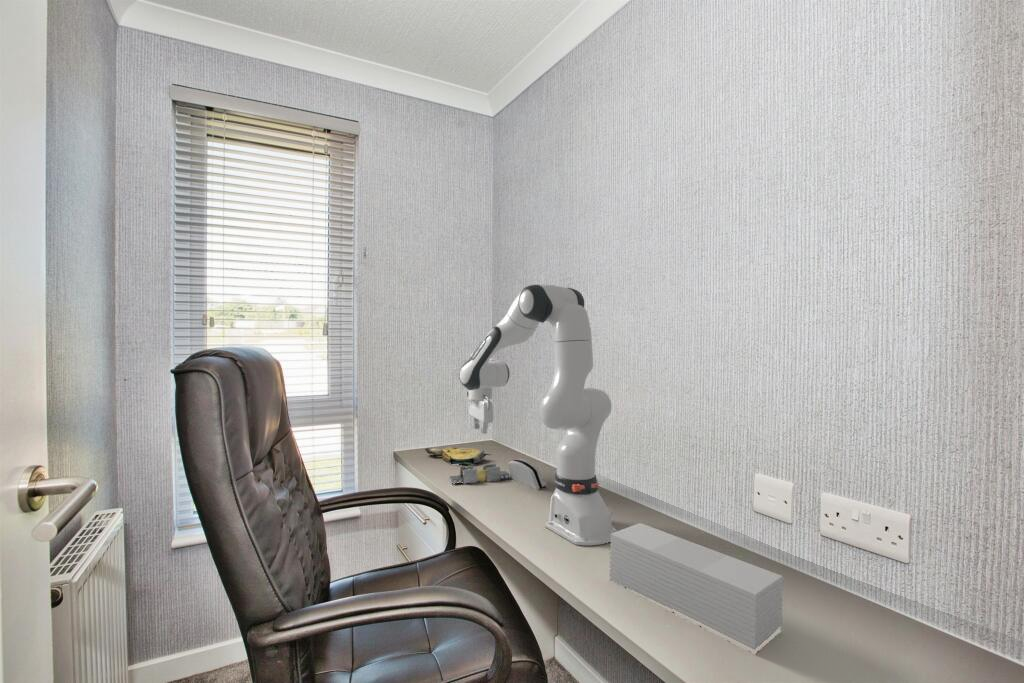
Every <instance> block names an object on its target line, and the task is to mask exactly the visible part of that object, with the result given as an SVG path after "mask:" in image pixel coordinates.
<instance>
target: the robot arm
mask: <svg viewBox="0 0 1024 683" xmlns="http://www.w3.org/2000/svg"><path fill="white" fill-rule="evenodd" d="M587 311H588V310H587V309H586V308H585V299H584V296H583V294H582V293H581V292H580V291H578V290H577V289H575V288H572V287H564V286H557V285H554V284H553V285H552V284H531V285H528V286H527V285H526V287H524V288H522V289H521V291H519V293H518V294H517V296H516V297H515V298H514V300H513V301H512V303H511V304H510V307H509V308H508V310H507V312H506V314H505V315H504V317H503V318H502V319H501V320H500V321H499V322H498V323H497V324H496V325H495V326H493V327H491V328H490V329H489V330H488V331H487V333H486V334H485V335H484V337H483V338H482V340H481V341H480V342H479V343H478V346H477V347H476V349H475V350H474V351H473V352H472V353H471V354H470V356H469V358H468V359H467V360H466V361H465V362H464V363H463V364H462V366H461V368H460V369H459V373H458V377H459V378H458V379H459V381H460V383H461V385H462V386H463V387H464V388H466V390H467V391H466V398H467V408H468V409H467V411H468V414H469V416H471V417H472V421H473V428H474V429H475V430H481V431H480V432H481V434H482V435H487V433H488V428H489V424H492V423H493V421H494V407H493V403H492V401H491V400H493V389H494V388H501V387H505V386H506V384H508V382H509V380H510V376H511V375H510V368H509V366H508V365H507V363H506V362H504V361H501V360H499V359H498V358H496V357H494V354H496V352H498V351H500V350H502V349H504V348H507V347H510V346H515V345H520V344H522V343H525V342H527V341H528V340H529V339H530V338H532V336H533V335H534V333H535V332H536V330H537V328H538V327H539V325H540V323H541V324H543V323H545V322H548V323H549V324H550V325H551V326H552V329H553V348H554V350H553V351H554V356H553V357H554V371H553V377H552V381H551V384H550V387H549V389H548V391H547V394H546V395H545V396H544V397H543V398H542V399H541V401H540V403H539V416H540V419H541V421H542V423H543V424H544V425H545V427H547V428H549V429H553V430H560V431H566V432H565V433H564V434H565V435H564V437H563V438H562V439H561V440H560V442H559V443H558V445H557V448H556V472H555V474H554V487H555V489H554V492H553V493H552V495H551V497H550V505H549V514H548V516H549V517H548V520H546V521H545V523H544V527H545V528H546V529H548V530H550V531H551V532H553V533H554V534H557V535H559V536H560V537H562V538H564V539H565V540H567V541H569V542H571V543H572V544H574V545H577V546H600V545H605V543H606V544H609V543H608V542H610V539H611V538H610V534H612V533H614V532H617V531H618V530H617V529H616V528H615V526H614V525H613V522H612V513H613V512H612V508H611V507H610V506H607V505H606V503H605V501H604V498H602V496H601V494H600V492H599V488H600V486H599V485H600V483H598V478H597V476H596V454H597V453H596V452H597V444H598V441H599V437H600V434H601V431H602V428H603V426H604V423H605V422H606V420H607V418H608V417H609V416H610V414H611V412H612V406H613V405H612V401H611V398H610V396H609V395H608V394H607V393H606V392H605V391H603V390H601V389H597V388H592V387H585V384H586V380H587V378H588V376H589V374H590V373H591V372H592V370H593V367H594V355H593V338H592V330H591V323H590V318H589V315H588V312H587ZM480 422H481V429H480Z"/></svg>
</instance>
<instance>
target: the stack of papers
mask: <svg viewBox="0 0 1024 683" xmlns="http://www.w3.org/2000/svg"><path fill="white" fill-rule="evenodd" d="M610 538H611V539H610V542H611V543H610V548H609V550H610V551H609V568H610V569H609V581H610V582H611V581H613V582H615V583H617V584H619V585H622V586H624V587H626V588H628V589H630V590H633V591H635V592H637V593H639V594H641V595H643V596H645V597H647V598H649V599H652V600H654V601H656V602H658V603H660V604H662V605H664V606H667V607H669V608H671V609H674V610H676V611H678V612H680V613H682V614H684V615H686V616H688V617H690V618H692V619H694V620H696V621H699V622H701V623H702V624H704V625H706V626H708V627H710V628H712V629H714V630H716V631H718V632H720V633H722V634H724V635H726V636H728V637H730V638H732V639H734V640H736V641H738V642H740V643H742V644H744V645H746V646H748V647H750V648H752V649H754V650H755V649H756V648H757V647H758V646H760V645H761V644H762V643H763V642H764V641H765V640H767V639H768V638H769V637H770V636H771V635H772V634H773V633H774V632H775V631H776V630H777V629H778V628H779V627H781V626H782V627H783V624H782V623H783V600H784V599H783V587H784V585H783V584H784V582H783V580H784V576H783V575H781V574H778V573H776V572H772V571H770V570H768V569H765V568H761V567H759V566H757V565H754V564H751V563H749V562H747V561H743V560H740V559H738V558H735V557H733V556H730V555H727V554H724V553H722V552H719V551H716V550H714V549H711V548H708V547H707V546H703V545H700V544H697V543H694V542H692V541H690V540H687V539H684V538H682V537H679V536H677V535H673V534H671V533H669V532H665V531H663V530H660V529H658V528H655V527H653V526H650V525H647V524H644V523H641V522H639V523H636V524H633V525H630V526H628V527H625V528H622V529H620V530H617V532H614V533H612V534H610ZM613 582H612V583H613ZM615 583H614V584H615ZM617 584H616V585H617ZM619 585H618V586H619Z"/></svg>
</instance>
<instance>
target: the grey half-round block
mask: <svg viewBox="0 0 1024 683" xmlns="http://www.w3.org/2000/svg"><path fill="white" fill-rule="evenodd" d="M507 468H508V473H509V477H510V479H511V480H514V481H516V482H518V483H521V484H523V485H525V486H527V487H530V488H532V489H534V490H536V491H539V490H540V489H541V488H543V487H544V488H548V484H547V482H545V481H544V480H543V477H542V474H541V472H540V468H538V466H537V465H536V464H533V463H532V462H530V461H529V460H527V459H525V458H515V459H512V460H511V461H509V462H508V463H507ZM540 487H541V488H540Z"/></svg>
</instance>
